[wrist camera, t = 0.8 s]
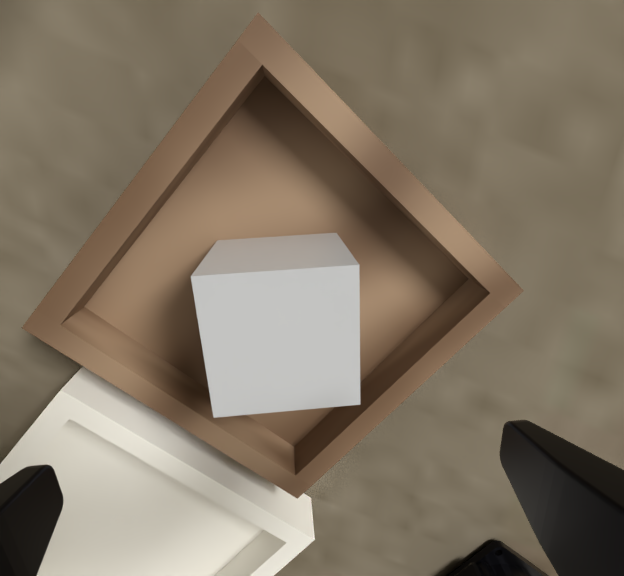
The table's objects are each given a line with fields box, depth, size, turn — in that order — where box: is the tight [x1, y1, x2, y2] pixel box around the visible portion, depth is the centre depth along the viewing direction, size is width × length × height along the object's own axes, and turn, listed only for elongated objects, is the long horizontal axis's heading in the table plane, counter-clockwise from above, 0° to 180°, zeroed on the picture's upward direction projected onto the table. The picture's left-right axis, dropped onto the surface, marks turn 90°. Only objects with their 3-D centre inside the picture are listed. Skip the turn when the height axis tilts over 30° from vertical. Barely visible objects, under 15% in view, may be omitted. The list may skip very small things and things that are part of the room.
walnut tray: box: [22, 13, 524, 499], centre depth 16 cm, size 14×14×2 cm
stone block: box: [191, 233, 360, 418], centre depth 15 cm, size 5×5×5 cm
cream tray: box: [0, 366, 315, 576], centre depth 20 cm, size 14×14×2 cm
